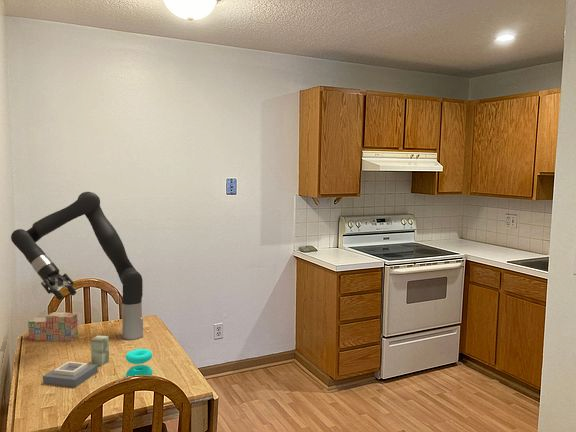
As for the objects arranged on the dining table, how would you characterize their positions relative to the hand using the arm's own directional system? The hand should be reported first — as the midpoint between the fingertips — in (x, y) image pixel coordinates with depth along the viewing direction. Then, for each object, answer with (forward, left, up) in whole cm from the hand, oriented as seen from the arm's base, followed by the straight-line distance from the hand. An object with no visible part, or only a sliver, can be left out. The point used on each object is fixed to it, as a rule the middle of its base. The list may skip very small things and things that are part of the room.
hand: (68, 296), depth 204 cm
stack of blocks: (+5, -30, -28) cm, 41 cm away
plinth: (+1, +21, -27) cm, 35 cm away
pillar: (-11, +11, -27) cm, 32 cm away
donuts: (-23, +32, -28) cm, 48 cm away
